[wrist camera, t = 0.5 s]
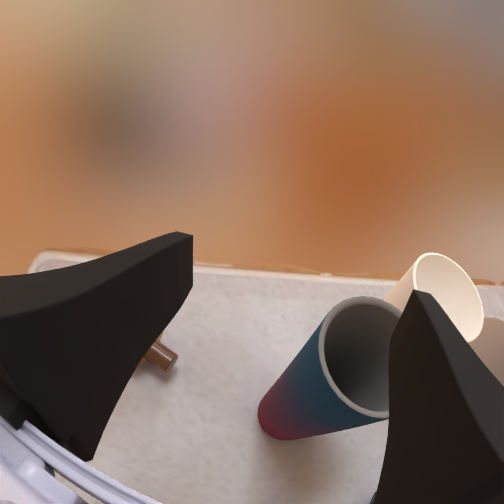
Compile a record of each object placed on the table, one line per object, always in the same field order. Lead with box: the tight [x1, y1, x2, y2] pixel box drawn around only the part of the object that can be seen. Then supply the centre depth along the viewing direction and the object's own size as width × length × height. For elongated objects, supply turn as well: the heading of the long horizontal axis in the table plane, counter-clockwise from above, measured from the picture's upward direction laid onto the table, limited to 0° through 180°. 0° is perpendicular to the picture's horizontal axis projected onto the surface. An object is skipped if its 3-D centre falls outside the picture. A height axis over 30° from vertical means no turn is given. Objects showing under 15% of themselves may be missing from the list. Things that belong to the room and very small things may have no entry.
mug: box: [383, 253, 484, 344], centre depth 28 cm, size 12×9×12 cm
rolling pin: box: [138, 332, 178, 372], centre depth 26 cm, size 4×11×4 cm, turn 61°
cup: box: [258, 296, 403, 440], centre depth 20 cm, size 7×7×15 cm
